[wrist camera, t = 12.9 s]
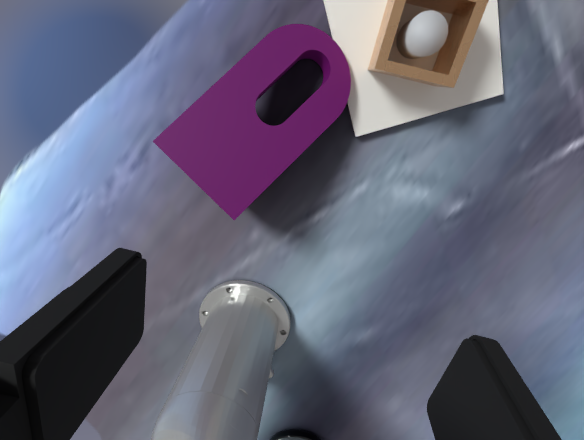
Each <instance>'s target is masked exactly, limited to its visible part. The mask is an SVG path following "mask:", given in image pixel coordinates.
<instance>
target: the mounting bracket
mask: <svg viewBox="0 0 584 440" xmlns="http://www.w3.org/2000/svg"><path fill="white" fill-rule="evenodd" d="M305 58H308V59H312V60H314V61H316V62H317V63H318V64H319V65H320V67H321V69H322V71H323V82H322V85H321V86H320V88H319V89H318V90H317V91H316V92H315V93H314V94H313V95H312V96H310V97H309V98H308V99H307V100H306V101H305V102H304V103H303V104H302V105H301V106H300V107H299V108H298V109H297V110H296V111H295V112H294V113H293V114H292V115H291V116H290V117H289V118H288V119H287V120H286V121H285V122H284V123H282V124H280V125H277V126H271V125H267V124H265V123H264V122H262V121H261V120H260V119H259V117H258V116H257V113H256V110H255V103H256V101H257V99H259V98H260V97H261V96H262V95H263V94H264V93H265V92H266V91H267V90H268V89H269V88H270V87H271V86H272V85H273V84H274V83H275V82H276V81H277V80H278V79H280V78H281V77H282V76H283V75H284V74H285V73H286V72H287V71H288V70H289V69H290V68H291V67H292V66H293V65H294V64H295V63H296V62H298V61H299V60H301V59H305ZM350 89H351V75H350V69H349V65H348V62H347V60H346V57H345V55H344V53H343V51H342V50H341V48H340V47H339V46H338V44H337V43H336V42H335V41H334V40H333V39H332V38H331V37H330V36H329V35H327V34H326V33H324V32H323V31H321V30H319V29H317V28H315V27H312V26H309V25H304V24H290V25H285V26H282V27H279V28H277V29H275V30H274V31H272V32H270V33H269V34H268V35H267V36H266V37H265V38H263V39H262V40H261V41H260V42H259V43H258V44H257V45H256V46H255V47H254V48H253V49H252V50H251V51H249V52H248V53H247V54H246V55H245V56H244V57H243V58H242V59H241V60H240V61H239V62H238V63H237V64H235V65H234V66H233V67H232V68H231V69H230V70H229V71H228V72H227V73H226V74H225V75H224V76H223V77H221V78H220V79H219V80H218V81H217V82H216V83H215V84H214V85H213V86H212V87H211V88H210V89H209V90H207V91H206V92H205V93H204V94H203V95H202V96H201V97H200V98H199V99H198V100H197V101H196V102H195V103H193V104H192V105H191V106H190V107H189V108H188V109H187V110H186V111H185V112H184V113H183V114H182V115H181V116H179V117H178V118H177V119H176V120H175V121H174V122H173V123H172V124H171V125H170V126H169V127H168V128H167V129H165V130H164V131H163V132H162V133H161V134H160V135H159V136H158V137H157V138H156V139H155V140H154V141H153V142H154V143H155V144H156V145H157V146H158V147H159V148H160V149H161V150H162V151H163V152H164V153H165V154H166V155H167V156H168V157H169V158H170V159H171V160H173V161H174V162H175V163H176V164H177V165H178V166H179V167H180V168H181V169H182V170H183V171H184V172H185V173H186V174H187V175H188V176H189V177H190V178H191V179H192V180H193V181H194V182H195V183H196V184H197V185H198V186H199V187H200V188H201V189H202V190H203V191H204V192H205V193H206V194H207V195H209V196H210V197H211V198H212V199H213V200H214V201H215V202H216V203H217V204H218V205H219V206H220V207H221V208H222V209H223V210H224V211H225V212H226V213H227V214H228V215H229V216H230V217H231V218H232V219H233V220H235V219H236V218H237V217H238V216H239V215H240V214H241V213H242V212H243V211H244V210H245V209H246V208H247V207H248V206H249V205H250V204H251V203H252V202H253V201H254V200H255V199H256V198H257V197H258V196H259V195H260V194H261V193H262V192H263V191H264V190H265V189H266V188H267V187H268V186H269V185H270V184H271V183H272V182H273V181H274V180H275V179H276V178H277V177H278V176H279V175H280V174H281V173H282V172H283V171H284V170H285V169H286V168H288V167H289V166H290V165H291V164H292V163H293V162H294V161H295V160H296V159H297V158H298V157H299V156H300V155H301V154H302V153H303V152H304V151H305V150H306V149H307V148H308V147H309V146H310V145H311V144H312V143H313V142H314V141H315V140H316V139H317V138H318V137H319V136H320V135H321V134H322V133H323V132H324V131H325V130H326V129H327V128H328V127H329V126H330V125H331V124H332V123H333V122H334V121H335V120H336V119H337V118H338V117H339V116H340V114H341V113H342V111H343V110H344V108H345V106H346V104H347V102H348V98H349V95H350Z"/></svg>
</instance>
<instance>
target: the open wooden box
mask: <svg viewBox="0 0 584 440" xmlns="http://www.w3.org/2000/svg"><path fill="white" fill-rule="evenodd" d="M488 1H489V0H388V1H387V4H386V8H385V11H384V15H383V18H382V22H381V25H380V29H379V32H378V36H377V39H376V43H375V46H374V50H373V53H372V56H371V60H370V63H369V67H368V70H370V71H374V72H378V73H382V74H386V75H391V76H395V77H399V78H403V79H407V80H411V81H415V82H419V83H424V84H428V85H432V86H437V87H449V88H454V87H455V84H456V82H457V79H458V77H459V74H460V72H461V69H462V67H463V64H464V62H465V59H466V57H467V54H468V51H469V49H470V46H471V44H472V41H473V39H474V36H475V34H476V31H477V29H478V26H479V24H480V21H481V19H482V16H483V14H484V11H485V9H486V6H487V4H488ZM405 3H408V4H412V5H416V6H420V7H424V8H429V9H433V10H437V11H441V12H445V13H449V14H453V15H452V17H451V20H450V23H449V26H448V35H447V39H446V41H445V43H444V45H443V46H442V47H441V48H440V50H439V53H438V56H437V59H436V61H435V64H434V67H433V70H432V71H430V70H426V69H422V68H417V67H413V66H409V65H405V64H401V63H397V62H393V61H388V57H389V54H390V51H391V47H392V44H393V41H394V38H395V34H396V31H397V28H398V25H399V21H400V18H401V15H402V12H403V8H404V5H405Z"/></svg>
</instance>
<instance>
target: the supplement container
mask: <svg viewBox="0 0 584 440" xmlns="http://www.w3.org/2000/svg"><path fill="white" fill-rule="evenodd" d="M270 440H321V439H320V438H319V437H317V436H316V435H314V434H312V433H310V432H308V431H304V430H299V429H289V430H284V431H281V432H278V433H276V434H275V435H274V436H272V437H271V439H270Z"/></svg>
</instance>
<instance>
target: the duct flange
mask: <svg viewBox="0 0 584 440" xmlns="http://www.w3.org/2000/svg"><path fill="white" fill-rule="evenodd" d="M323 1H324V5H325V9H326V14H327V18H328V22H329V26H330V31H331V35H332V39H333V40H334V41H335V42H336V43H337V44H338V46H339V47H340V48H341V50H342V51H343V53H344V55H345V57H346V60H347V62H348V65H349V69H350V75H351V89H350V95H349V98H348V102H347V103H348V108H349V112H350V116H351V121H352V125H353V129H354V133H355V137H358V136H361V135H364V134H368V133H371V132H375V131H378V130H382V129H385V128H389V127H392V126H395V125H399V124H402V123H406V122H409V121H413V120H416V119H419V118H423V117H426V116H430V115H433V114H437V113H440V112H443V111H447V110H450V109H454V108H457V107H461V106H464V105H468V104H471V103H474V102H478V101H481V100H485V99H488V98H492V97H495V96H498V95H502V94H503V79H502V64H501V49H500V34H499V19H498V4H497V0H489V1H488V4H487V6H486V9H485V11H484V14H483V16H482V19H481V21H480V24H479V26H478V29H477V31H476V34H475V36H474V39H473V41H472V44H471V46H470V49H469V51H468V54H467V57H466V59H465V62H464V64H463V67H462V69H461V72H460V74H459V77H458V79H457V82H456V84H455V87H454V88H449V87H437V86H432V85H428V84H424V83H419V82H415V81H411V80H407V79H403V78H399V77H395V76H391V75H386V74H382V73H378V72H374V71H370V70H368V67H369V63H370V60H371V56H372V53H373V50H374V46H375V43H376V39H377V36H378V32H379V29H380V25H381V22H382V18H383V15H384V11H385V8H386V4H387V1H388V0H323ZM452 15H453V14H449V13H445V12H441V11H437V10H433V9H429V8H424V7H420V6H416V5H412V4H408V3H405V5H404V8H403V12H402V15H401V18H400V21H399V25H398V28H397V31H396V34H395V38H394V41H393V44H392V47H391V51H390V54H389V57H388V61H393V62H397V63H401V64H405V65H409V66H413V67H417V68H422V69H426V70H430V71H432V70H433V67H434V64H435V61H436V59H437V56H438V53H439V50H440V48H441V47H442V46H443V45H444V43H445V41H446V39H447V35H448V26H449V23H450V20H451V17H452Z"/></svg>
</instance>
